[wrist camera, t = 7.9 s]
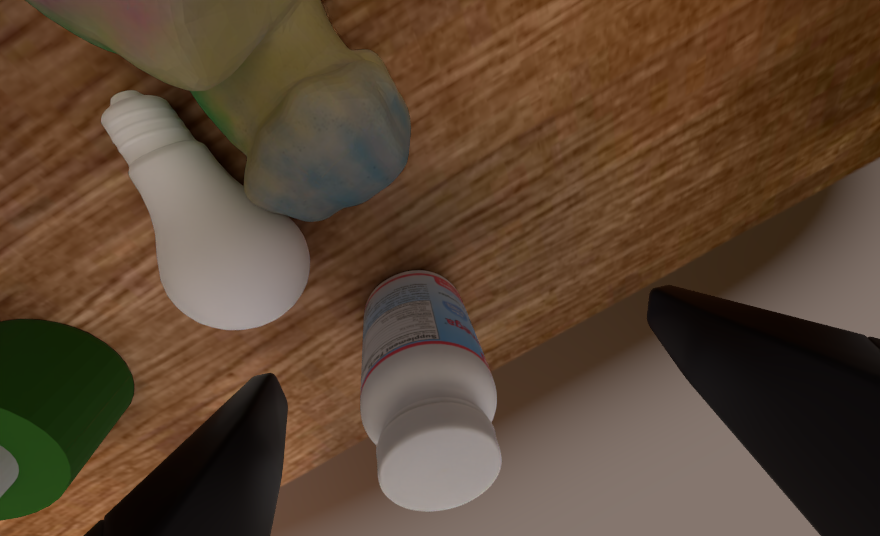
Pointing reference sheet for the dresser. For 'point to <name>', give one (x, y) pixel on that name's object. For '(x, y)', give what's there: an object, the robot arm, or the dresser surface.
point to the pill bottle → (427, 394)
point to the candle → (53, 409)
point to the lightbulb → (206, 222)
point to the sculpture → (266, 91)
